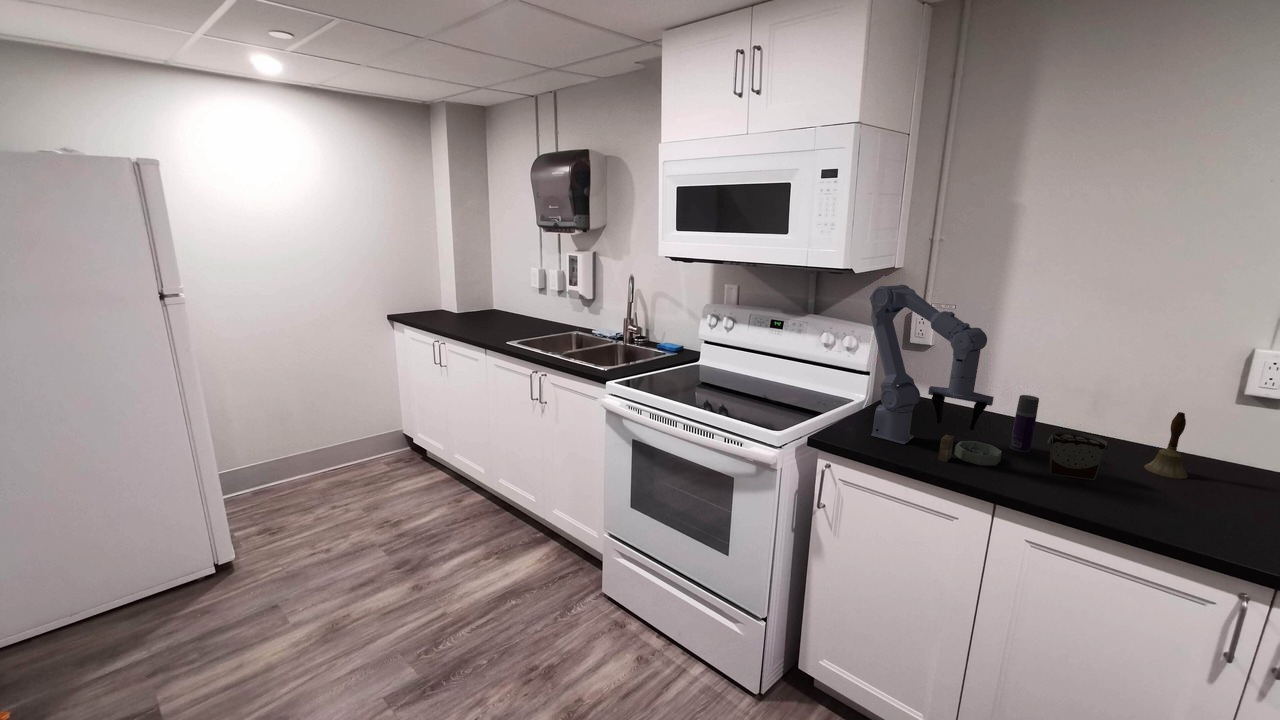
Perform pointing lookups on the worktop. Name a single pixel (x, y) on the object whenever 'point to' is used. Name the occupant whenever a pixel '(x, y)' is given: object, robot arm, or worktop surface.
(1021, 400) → the container
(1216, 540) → the worktop surface
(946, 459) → the brown wooden block
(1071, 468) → the food container
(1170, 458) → the hand bell
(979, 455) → the grey shallow bowl
